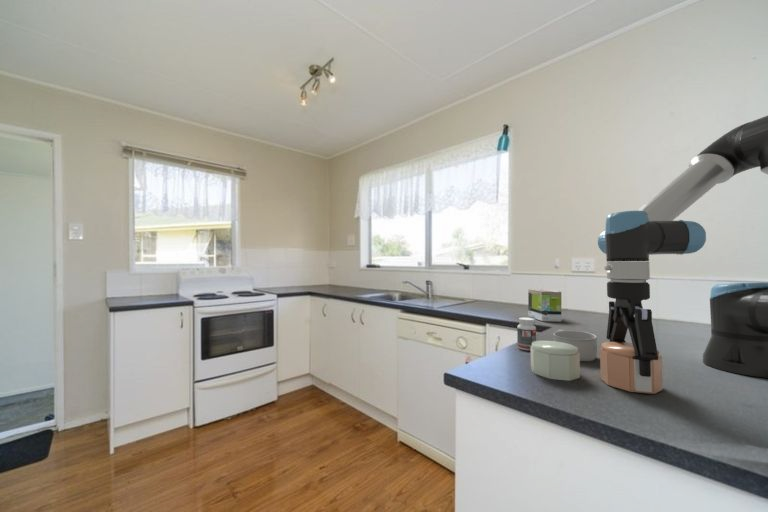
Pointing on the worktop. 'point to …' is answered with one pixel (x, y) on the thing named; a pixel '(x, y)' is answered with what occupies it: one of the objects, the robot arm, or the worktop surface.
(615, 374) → the peach acorn nut
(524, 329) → the pill bottle
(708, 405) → the worktop surface
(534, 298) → the tea box
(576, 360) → the sage acorn nut
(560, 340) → the teacup
